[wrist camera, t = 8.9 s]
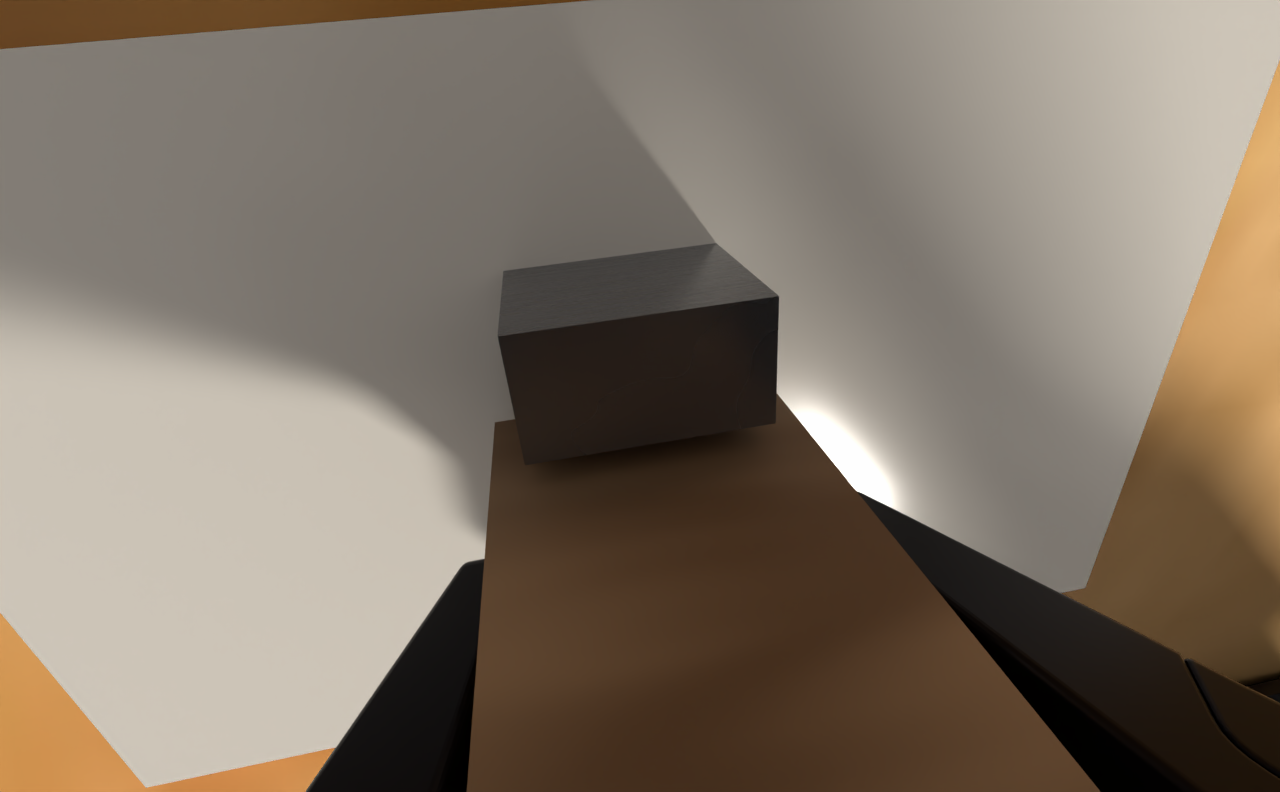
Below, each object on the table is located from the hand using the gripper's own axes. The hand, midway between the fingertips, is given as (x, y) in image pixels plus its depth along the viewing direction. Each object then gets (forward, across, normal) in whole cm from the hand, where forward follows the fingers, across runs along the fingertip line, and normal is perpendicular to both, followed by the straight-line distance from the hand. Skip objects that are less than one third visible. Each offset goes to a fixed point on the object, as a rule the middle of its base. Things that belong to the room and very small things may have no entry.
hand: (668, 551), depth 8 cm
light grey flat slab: (+4, 0, 0) cm, 4 cm away
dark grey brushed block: (+3, 0, 0) cm, 3 cm away
